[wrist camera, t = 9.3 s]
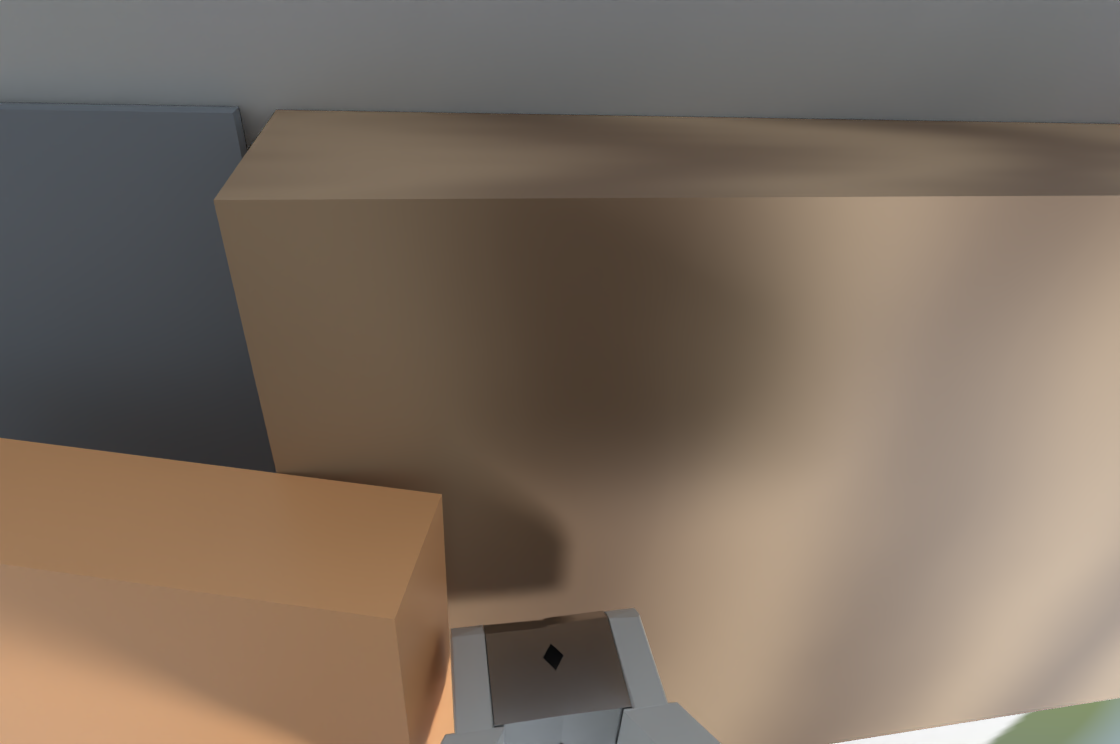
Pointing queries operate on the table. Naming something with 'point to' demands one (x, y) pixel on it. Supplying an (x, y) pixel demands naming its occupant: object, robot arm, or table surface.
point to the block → (216, 605)
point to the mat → (123, 284)
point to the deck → (721, 389)
